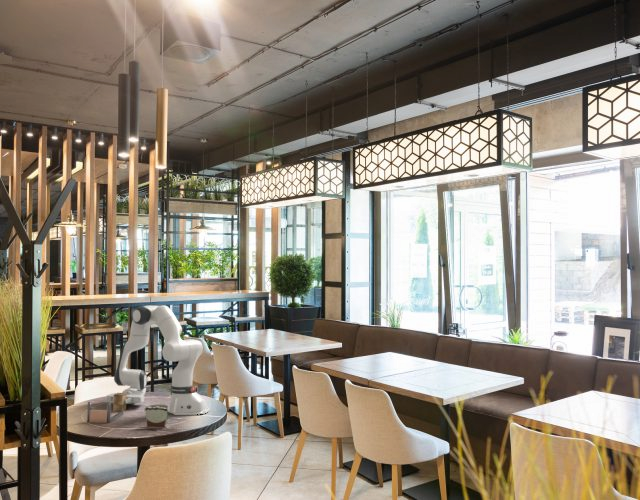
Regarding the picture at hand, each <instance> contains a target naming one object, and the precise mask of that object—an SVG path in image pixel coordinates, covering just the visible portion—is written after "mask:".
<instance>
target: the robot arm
mask: <svg viewBox="0 0 640 500" xmlns="http://www.w3.org/2000/svg"><path fill="white" fill-rule="evenodd" d="M131 317H132V318H131V319H132V321H131V326H130V331H129V337H128V339H127V340H126V342H124V344H123V345H122V348H121V351H120V355H119V360H118V363H117V367H116V370H115V373H114V376H113V382H114V383H115V384H116V385H117V386H119V387H120V386H121V387H122V386H123V387H125V386H127V387H128V386H129V387H128V388H125V389H124V390H123V391H122V392H121V393H126V399H125V400H124V403H126V405H132V404H141V403H144V402H145V394H146V392H147V385H148V384H147V383H148V375H147V373H146V371H144V370H143V369H142V370H141V369H133V368H132V369H130V368H127V365H128V361H129V356H130V354H131V353H133V352H136V351H139V350H142V349H144V348H145V347H147V345H148V344H149V342H150V335H151V334H150V331H151V330H150V329H151V326H152V325H156V326H157V327H158V329H159V331H160V333H161V335H162V336H163V339H164V346H163V347H162V350H161V354H162V357H163V359H164V360H165V361H167V362H178V363H177V365H176V366H175V368H174V369H173V370H172V373H171V386H170V403H169V406H168V408H169V412H168V413H170V414H173V415H174V416H194V415H195V416H200V414H203V415H206V414H208V413H209V412H210V411H211V407H208V406H207V402H206V399H205V398H204V397H203V396H202V395H200V394H199V393H198V392H197V390H196V389H197V385H194V384H193V378H194V369H195V366H196V363H197V361H198V359H199V357H200V356H201V355H202V354H203V351H204V347H203V346H204V345H203V343H202V342H201V341H200V340H199V339H193V338H191V339H182V337H181V335H182V332H183V328H182V327H183V326H182V325H181V323H180V321H179V319H178V318H177V317H176V315H175V314H174V312H173V311H172V309H171V308H170V307H169V306H167V305H164V304H163V305H161V304H160V305H150V304H149V305H140V306H137V307H135V308H134V309H133V311H132V314H131ZM116 393H117V392H116ZM116 393H115V392H114V393H109V394H106V397H105V401H106V403H108V402H111V404H112V403H114V394H116ZM207 412H208V413H207ZM205 413H206V414H205ZM197 414H198V415H197Z"/></svg>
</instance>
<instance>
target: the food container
mask: <svg viewBox="0 0 640 500" xmlns="http://www.w3.org/2000/svg"><path fill="white" fill-rule="evenodd" d="M144 411H145V422H146V424H145V425H146V428H157V429H165V428H166V427H167V419H168V413H169V406H168V405H166V404H159V403H158V404H149V405H146V406H145V407H144Z"/></svg>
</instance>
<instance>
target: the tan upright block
mask: <svg viewBox="0 0 640 500" xmlns="http://www.w3.org/2000/svg"><path fill="white" fill-rule="evenodd" d="M125 399H126V393H122V392H116V394H114V403H113V405H112V406H113V410H112V411H113V412H121V411H124V412H125V410H127V404H126V403H124V400H125Z"/></svg>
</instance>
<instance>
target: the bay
mask: <svg viewBox="0 0 640 500" xmlns="http://www.w3.org/2000/svg"><path fill="white" fill-rule="evenodd" d="M111 404H112V402H106V409H92V401H88V402H87V420H86V423H101V424H102V423H103V424H107V423H108V424H110V423H112V422H113V421H114V420H117V419H118V418H119V417H122V416H123V415H124V412H125V410H124V411H121V412H120V411H118V412H117V413H116V414H114V415H113V416H111Z"/></svg>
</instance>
